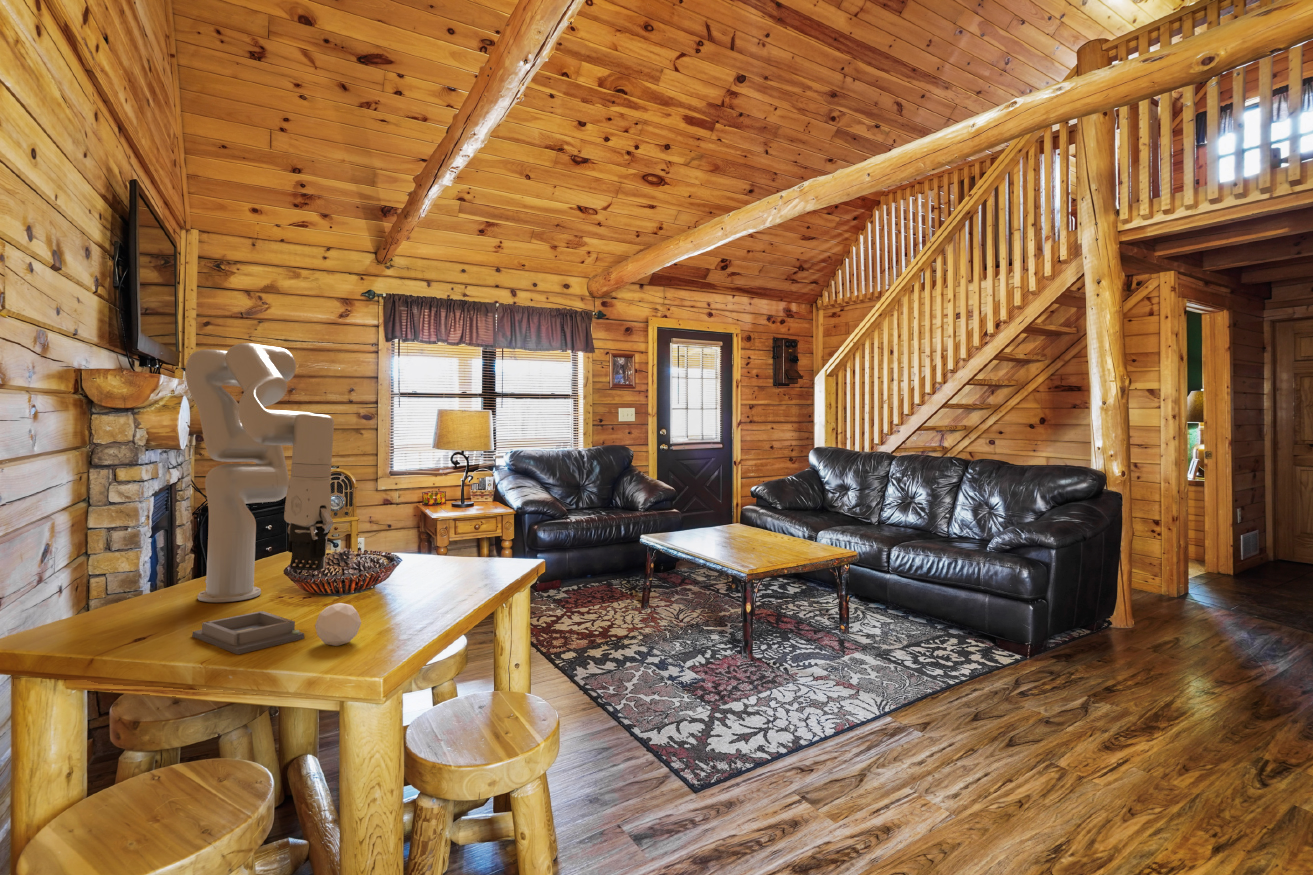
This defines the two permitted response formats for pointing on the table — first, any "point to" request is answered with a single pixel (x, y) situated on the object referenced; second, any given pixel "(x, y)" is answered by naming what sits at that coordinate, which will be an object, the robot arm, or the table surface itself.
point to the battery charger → (304, 549)
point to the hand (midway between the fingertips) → (306, 553)
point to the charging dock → (248, 632)
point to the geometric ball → (338, 624)
